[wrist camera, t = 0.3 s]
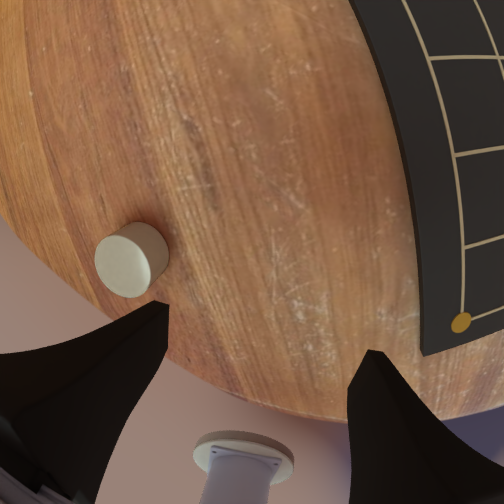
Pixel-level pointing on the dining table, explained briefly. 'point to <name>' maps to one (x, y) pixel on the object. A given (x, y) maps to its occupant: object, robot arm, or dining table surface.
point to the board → (448, 153)
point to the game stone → (131, 259)
